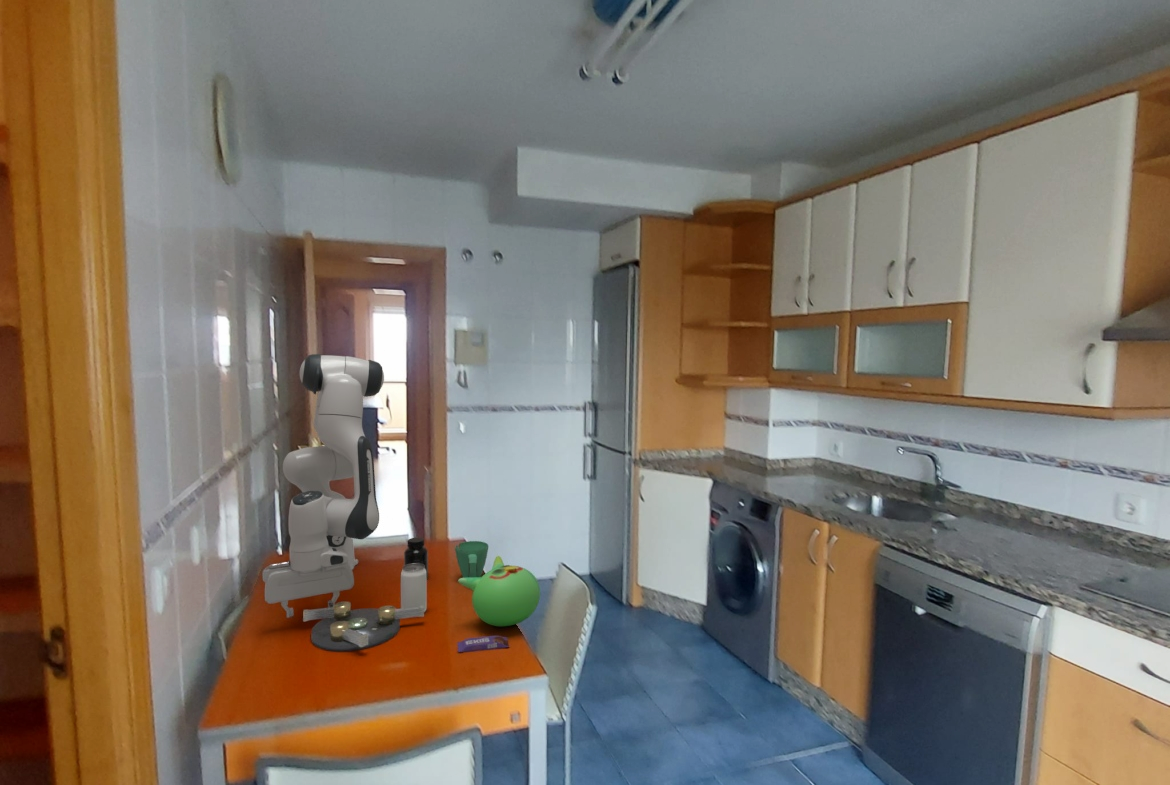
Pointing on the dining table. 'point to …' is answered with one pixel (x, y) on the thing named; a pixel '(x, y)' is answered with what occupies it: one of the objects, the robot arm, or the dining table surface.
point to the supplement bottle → (416, 553)
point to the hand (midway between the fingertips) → (311, 612)
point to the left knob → (398, 613)
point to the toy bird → (504, 594)
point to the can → (413, 586)
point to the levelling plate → (359, 622)
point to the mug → (471, 558)
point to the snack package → (482, 643)
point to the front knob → (347, 634)
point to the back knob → (329, 612)
